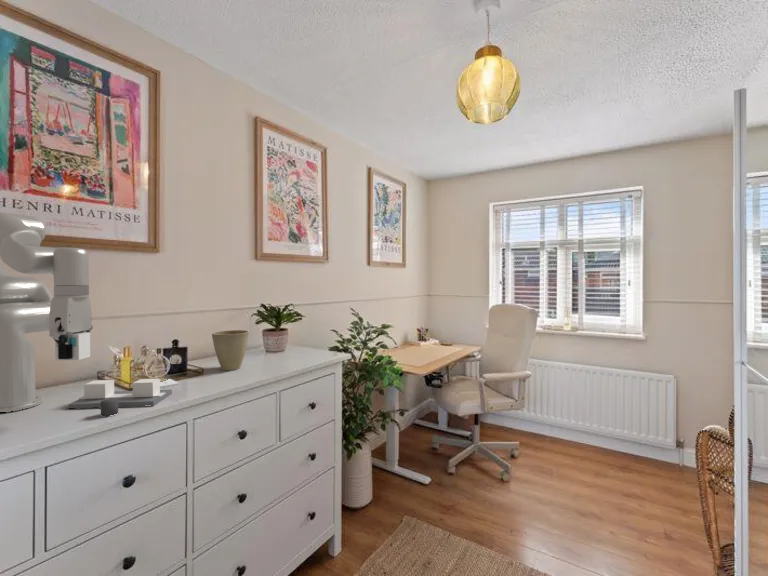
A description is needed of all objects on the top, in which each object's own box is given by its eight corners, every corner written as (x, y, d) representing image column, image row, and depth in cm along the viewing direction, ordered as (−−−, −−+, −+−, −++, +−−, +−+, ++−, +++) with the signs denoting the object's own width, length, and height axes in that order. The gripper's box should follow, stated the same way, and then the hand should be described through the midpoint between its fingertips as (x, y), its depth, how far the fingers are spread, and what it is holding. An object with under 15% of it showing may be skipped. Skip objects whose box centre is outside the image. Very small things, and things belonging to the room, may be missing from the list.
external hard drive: (131, 389, 131) (170, 382, 140) (139, 394, 126) (178, 386, 135) (131, 385, 131) (170, 378, 140) (139, 389, 126) (178, 382, 135)
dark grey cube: (97, 417, 103) (97, 403, 103) (106, 412, 107) (106, 398, 107) (112, 416, 104) (112, 402, 104) (121, 411, 108) (121, 398, 108)
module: (54, 360, 100) (54, 335, 100) (68, 356, 105) (67, 332, 105) (78, 360, 101) (77, 334, 101) (90, 356, 106) (90, 332, 106)
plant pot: (255, 364, 167) (254, 330, 166) (238, 373, 152) (238, 334, 152) (223, 364, 168) (223, 329, 168) (204, 372, 154) (204, 334, 153)
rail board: (68, 409, 110) (68, 388, 110) (95, 396, 122) (95, 377, 122) (153, 406, 112) (153, 385, 112) (171, 393, 124) (171, 375, 124)
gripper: (79, 291, 111) (80, 351, 111) (31, 293, 94) (32, 364, 94) (106, 291, 112) (107, 350, 112) (62, 293, 95) (63, 363, 95)
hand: (72, 356), depth 103 cm, fingers closed on module, 4 cm apart
